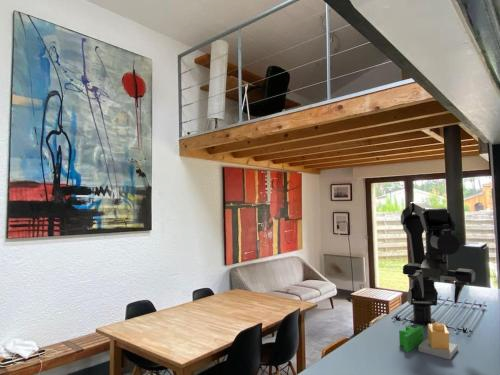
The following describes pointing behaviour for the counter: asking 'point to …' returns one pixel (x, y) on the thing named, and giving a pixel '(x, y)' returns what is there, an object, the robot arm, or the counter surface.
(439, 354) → the plate
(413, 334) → the pipe clamp
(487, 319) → the counter surface
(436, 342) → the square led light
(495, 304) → the counter surface
